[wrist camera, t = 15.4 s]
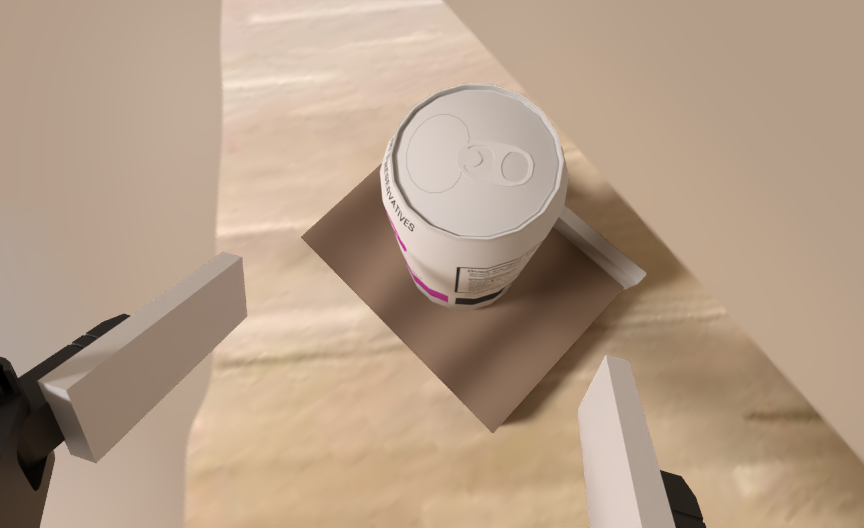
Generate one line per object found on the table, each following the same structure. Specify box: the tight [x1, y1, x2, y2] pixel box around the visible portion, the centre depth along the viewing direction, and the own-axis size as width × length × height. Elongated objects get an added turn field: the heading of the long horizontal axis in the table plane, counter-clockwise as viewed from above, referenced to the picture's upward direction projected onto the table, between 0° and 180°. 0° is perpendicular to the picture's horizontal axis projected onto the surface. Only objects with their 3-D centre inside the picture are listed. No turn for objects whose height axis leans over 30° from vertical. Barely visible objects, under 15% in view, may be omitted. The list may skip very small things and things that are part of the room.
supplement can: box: [380, 83, 569, 310], centre depth 24 cm, size 8×8×15 cm
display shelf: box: [301, 164, 647, 433], centre depth 32 cm, size 20×15×5 cm
